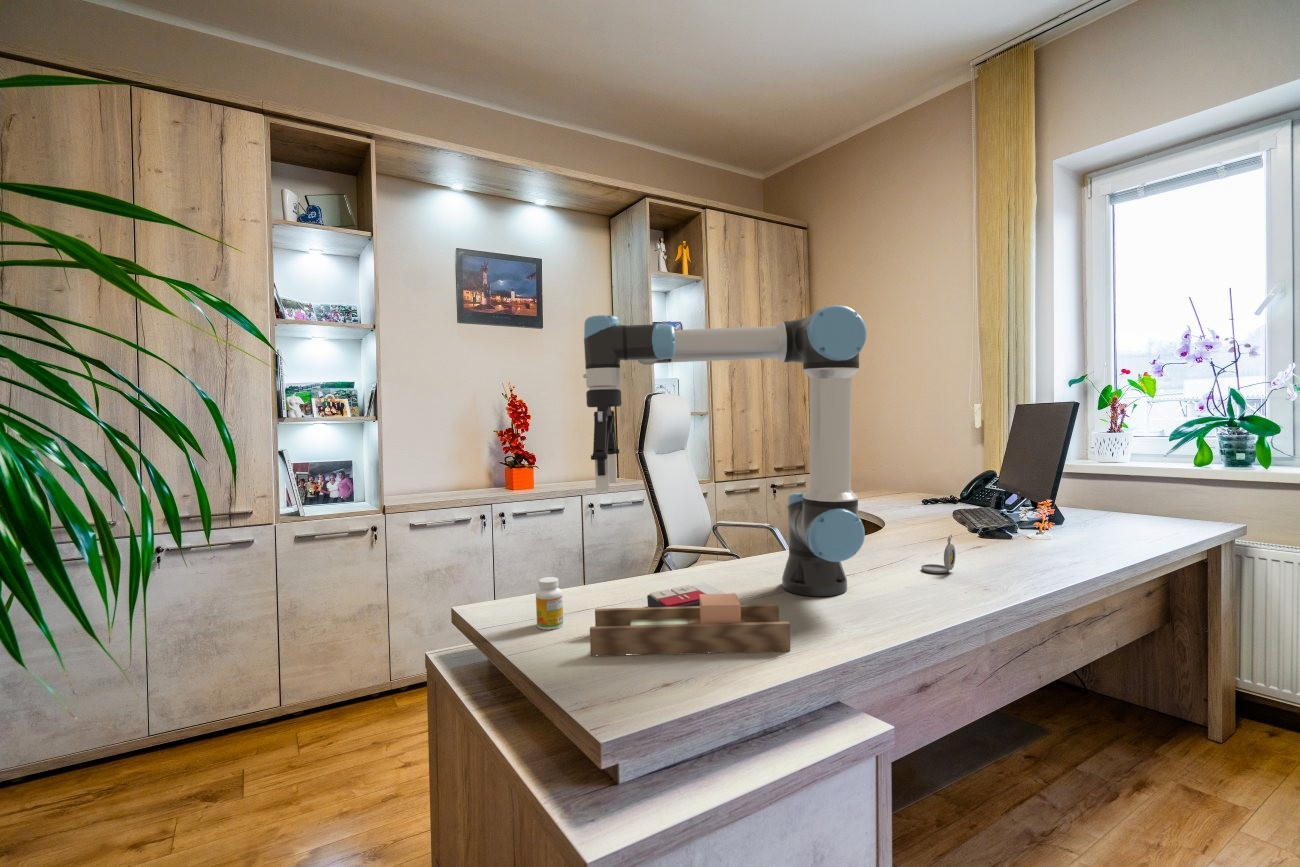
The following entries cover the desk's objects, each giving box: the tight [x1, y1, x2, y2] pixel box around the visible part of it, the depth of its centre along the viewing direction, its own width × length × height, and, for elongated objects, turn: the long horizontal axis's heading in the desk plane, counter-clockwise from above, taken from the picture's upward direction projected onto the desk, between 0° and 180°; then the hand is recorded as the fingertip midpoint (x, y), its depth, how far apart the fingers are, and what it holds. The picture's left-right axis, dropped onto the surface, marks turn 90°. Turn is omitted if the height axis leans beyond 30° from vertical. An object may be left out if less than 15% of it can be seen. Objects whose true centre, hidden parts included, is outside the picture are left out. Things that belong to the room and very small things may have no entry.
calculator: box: [646, 582, 726, 607], centre depth 141 cm, size 11×4×15 cm
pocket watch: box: [920, 534, 956, 574], centre depth 165 cm, size 8×8×10 cm
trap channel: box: [589, 603, 791, 657], centre depth 121 cm, size 36×11×5 cm, turn 90°
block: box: [700, 592, 742, 624], centre depth 121 cm, size 7×7×5 cm
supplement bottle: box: [535, 576, 564, 631], centre depth 132 cm, size 5×5×10 cm
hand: (607, 487), depth 139 cm, fingers open, 13 cm apart
